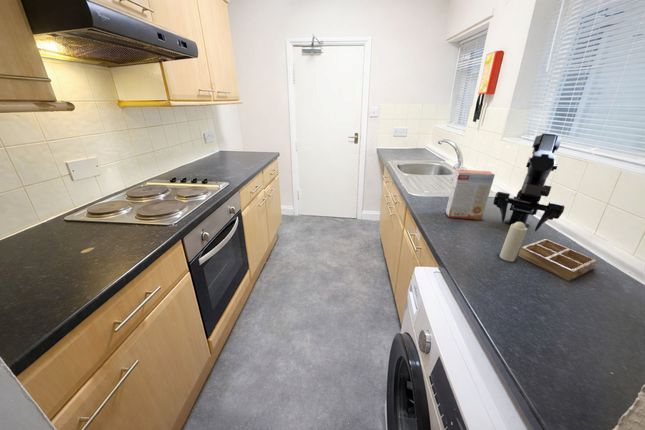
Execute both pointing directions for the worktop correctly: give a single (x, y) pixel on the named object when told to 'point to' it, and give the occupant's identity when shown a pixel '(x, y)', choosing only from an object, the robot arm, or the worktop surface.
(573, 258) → the grid
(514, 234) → the dome-topped white cylinder
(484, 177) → the cracker box
